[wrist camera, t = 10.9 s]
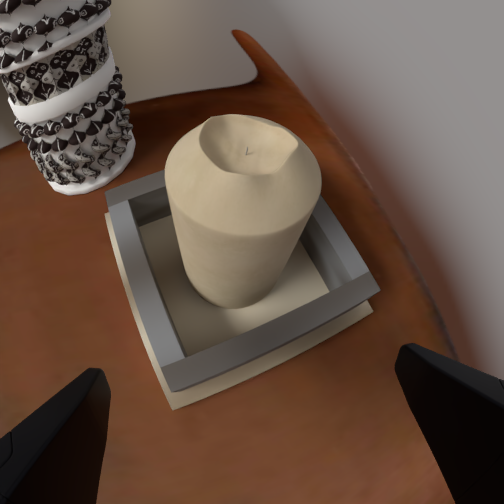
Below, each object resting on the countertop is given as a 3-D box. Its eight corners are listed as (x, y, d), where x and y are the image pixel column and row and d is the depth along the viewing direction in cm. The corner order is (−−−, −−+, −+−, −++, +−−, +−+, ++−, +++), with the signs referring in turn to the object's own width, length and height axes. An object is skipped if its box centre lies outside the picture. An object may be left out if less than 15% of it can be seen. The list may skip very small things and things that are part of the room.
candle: (284, 234, 19) (333, 106, 10) (271, 319, 17) (333, 229, 8) (198, 216, 19) (191, 80, 10) (174, 298, 17) (130, 188, 8)
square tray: (366, 315, 18) (398, 296, 15) (175, 409, 15) (162, 415, 11) (274, 165, 23) (283, 127, 19) (108, 221, 19) (90, 186, 16)
